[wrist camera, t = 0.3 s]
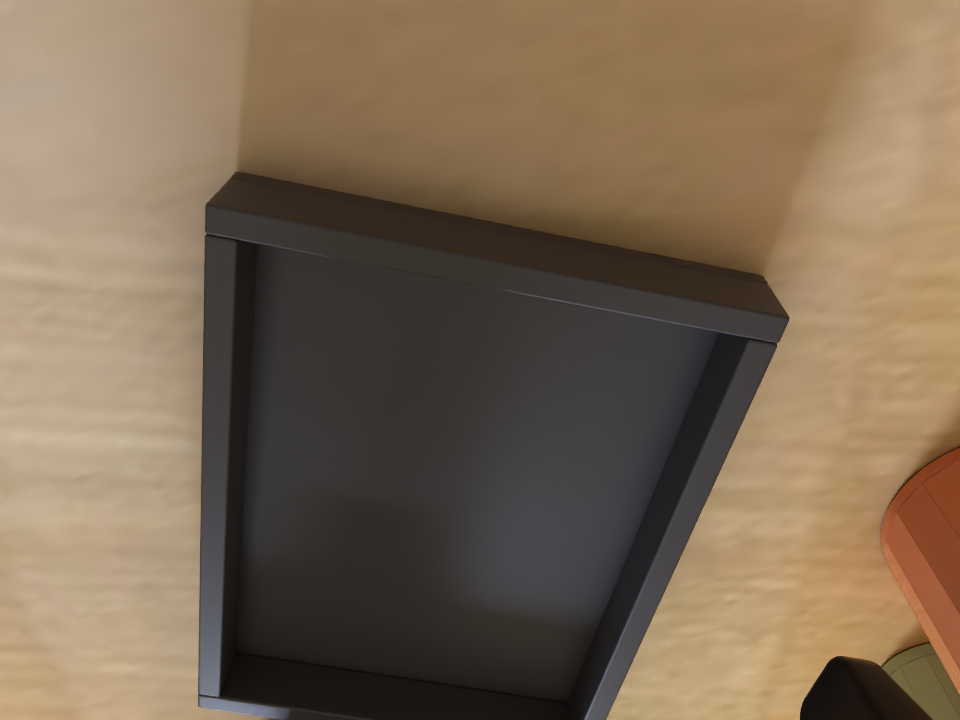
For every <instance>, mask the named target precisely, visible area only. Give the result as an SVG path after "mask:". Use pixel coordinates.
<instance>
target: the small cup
mask: <svg viewBox="0 0 960 720" xmlns="http://www.w3.org/2000/svg"><path fill="white" fill-rule="evenodd" d="M882 669H883V670H884V671H885V672H886V673H887V674H888V675H889V676H890V677H891V678H892V679H893V680H894V681H895V682H896V683H897V684H898V685H899V686H900V687H901V688H902V689H903V690H904V691H905V692H906V693H907V694H908V695H909V696H910V697H911V698H912V699H913V700H914V701H915V702H916V703H917V704H918V705H919V706H920V707H921V708H922V709H923V710H924V711H925V712H926V713H927V714H928V715H929V716H930V717H931V718H932V719H933V720H960V694H959V693H958V691H957V689H956V687H955V686H954V684H953V682H952V680H951V678H950V677H949V675H948V673H947V671H946V669H945V668H944V666H943V664H942V662H941V660H940V659H939V657H938V655H937V653H936V651H935V650H934V648H933V646H932V644H931V643H929V644H924V645H920V646H917V647H914V648H911V649H909V650H906V651H904V652H902V653H900V654H898V655H897V656H895V657H893V658H892V659H891V660H889V661H888V662H887V663H886V664H885V665H884V666H883V667H882Z"/></svg>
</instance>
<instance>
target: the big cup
mask: <svg viewBox="0 0 960 720" xmlns="http://www.w3.org/2000/svg"><path fill="white" fill-rule="evenodd" d="M881 546H882V551H883V554H884V557H885V559H886V561H887V563H888V567H889V569H890V571H891V573H892V575H893V576H894V578H895V580H896V582H897V583H898V585H899V587H900V589H901V591H902V592H903V594H904V596H905V598H906V600H907V601H908V603H909V605H910V607H911V609H912V610H913V612H914V614H915V616H916V617H917V619H918V621H919V623H920V625H921V626H922V628H923V630H924V632H925V634H926V635H927V637H928V639H929V641H930V643H931V644H932V646H933V648H934V650H935V651H936V653H937V655H938V657H939V659H940V660H941V662H942V664H943V666H944V668H945V669H946V671H947V673H948V675H949V677H950V678H951V680H952V682H953V684H954V686H955V687H956V689H957V691H958V693H959V694H960V447H959V448H957V449H955V450H953V451H951V452H949V453H947V454H945V455H943V456H941V457H940V458H938V459H936V460H935V461H933V462H931V463H930V464H929V465H927V466H926V467H925V468H923V469H922V470H920V471H919V472H918V473H917V474H916V475H915V476H913V477H912V478H911V479H910V480H909V481H908V482H907V483H906V484H905V485H904V486H903V488H902V489H901V490H900V491H899V492H898V494H897V495H896V496H895V498H894V499H893V501H892V502H891V504H890V506H889V508H888V510H887V512H886V515H885V517H884V520H883V524H882V530H881Z"/></svg>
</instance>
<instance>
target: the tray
mask: <svg viewBox="0 0 960 720" xmlns="http://www.w3.org/2000/svg"><path fill="white" fill-rule="evenodd" d="M205 232H206V233H207V234H206V235H205V267H204V335H203V403H202V471H201V539H200V607H199V676H198V693H199V694H198V706H199V707H200V708H207V709H213V710H220V711H227V712H234V713H241V714H247V715H254V716H261V717H268V718H275V719H282V720H606V718H607V716H608V714H609V712H610V710H611V707H612V705H613V703H614V701H615V699H616V697H617V694H618V692H619V690H620V688H621V686H622V683H623V681H624V679H625V677H626V675H627V673H628V670H629V668H630V666H631V664H632V662H633V659H634V657H635V655H636V653H637V651H638V649H639V646H640V644H641V642H642V640H643V638H644V635H645V633H646V631H647V629H648V627H649V625H650V622H651V620H652V618H653V616H654V614H655V612H656V609H657V607H658V605H659V603H660V601H661V598H662V596H663V594H664V592H665V590H666V588H667V585H668V583H669V581H670V579H671V577H672V574H673V572H674V570H675V568H676V566H677V564H678V561H679V559H680V557H681V555H682V553H683V551H684V548H685V546H686V544H687V542H688V540H689V537H690V535H691V533H692V531H693V529H694V527H695V524H696V522H697V520H698V518H699V516H700V513H701V511H702V509H703V507H704V505H705V503H706V500H707V498H708V496H709V494H710V492H711V489H712V487H713V485H714V483H715V481H716V479H717V476H718V474H719V472H720V470H721V468H722V466H723V463H724V461H725V459H726V457H727V455H728V452H729V450H730V448H731V446H732V444H733V442H734V439H735V437H736V435H737V433H738V431H739V428H740V426H741V424H742V422H743V420H744V418H745V415H746V413H747V411H748V409H749V407H750V404H751V402H752V400H753V398H754V396H755V394H756V391H757V389H758V387H759V385H760V383H761V381H762V378H763V376H764V374H765V372H766V370H767V367H768V365H769V363H770V361H771V359H772V357H773V354H774V352H775V350H776V348H777V343H778V342H779V341H780V339H781V337H782V335H783V332H784V330H785V328H786V326H787V324H788V322H789V316H788V314H787V313H786V311H785V310H784V308H783V307H782V305H781V303H780V302H779V300H778V299H777V297H776V296H775V294H774V293H773V291H772V290H771V288H770V287H769V285H767V281H766V280H765V278H764V277H763V276H760V275H755V274H750V273H745V272H740V271H735V270H730V269H724V268H719V267H714V266H709V265H704V264H699V263H694V262H689V261H684V260H679V259H674V258H669V257H664V256H659V255H654V254H649V253H644V252H639V251H634V250H629V249H624V248H619V247H614V246H608V245H603V244H598V243H593V242H588V241H583V240H578V239H573V238H568V237H563V236H558V235H553V234H548V233H543V232H538V231H533V230H528V229H523V228H518V227H513V226H508V225H503V224H498V223H492V222H487V221H482V220H477V219H472V218H467V217H462V216H457V215H452V214H447V213H442V212H437V211H432V210H427V209H422V208H417V207H412V206H407V205H402V204H397V203H392V202H387V201H382V200H376V199H371V198H366V197H361V196H356V195H351V194H346V193H341V192H336V191H331V190H326V189H321V188H316V187H311V186H306V185H301V184H296V183H291V182H286V181H281V180H276V179H271V178H266V177H260V176H255V175H250V174H245V173H240V172H235V174H234V175H233V176H232V177H231V179H229V180H228V182H227V183H226V184H225V185H224V186H223V187H222V188H221V189H220V190H219V191H218V192H217V193H216V194H215V195H214V196H213V197H212V198H211V199H210V201H209V202H208V203H207V204H206V206H205Z"/></svg>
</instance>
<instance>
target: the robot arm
mask: <svg viewBox="0 0 960 720" xmlns="http://www.w3.org/2000/svg"><path fill="white" fill-rule="evenodd" d="M800 720H933V719H932V718H931V717H930V716H929V715H928V714H927V713H926V712H925V711H924V710H923V709H922V708H921V707H920V706H919V705H918V704H917V703H916V702H915V701H914V700H913V699H912V698H911V697H910V696H909V695H908V694H907V693H906V692H905V691H904V690H903V689H902V688H901V687H900V686H899V685H898V684H897V683H896V682H895V681H894V680H893V679H892V678H891V677H890V676H889V675H888V674H887V673H886V672H885V671H884V670H883V669H882V668H881V667H880V666H879V665H877V664H876V663H874V662H872V661H869V660H864V659H858V658H851V657H845V656H837V657H835V658H833V659H831V660H830V661H829V662H828V663H827V665H826V666H825V668H824V670H823V671H822V673H821V674H820V676H819V677H818V679H817V680H816V682H815V683H814V685H813V687H812V688H811V690H810V691H809V693H808V694H807V696H806V697H805V699H804V701H803V704H802V707H801V712H800Z"/></svg>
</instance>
